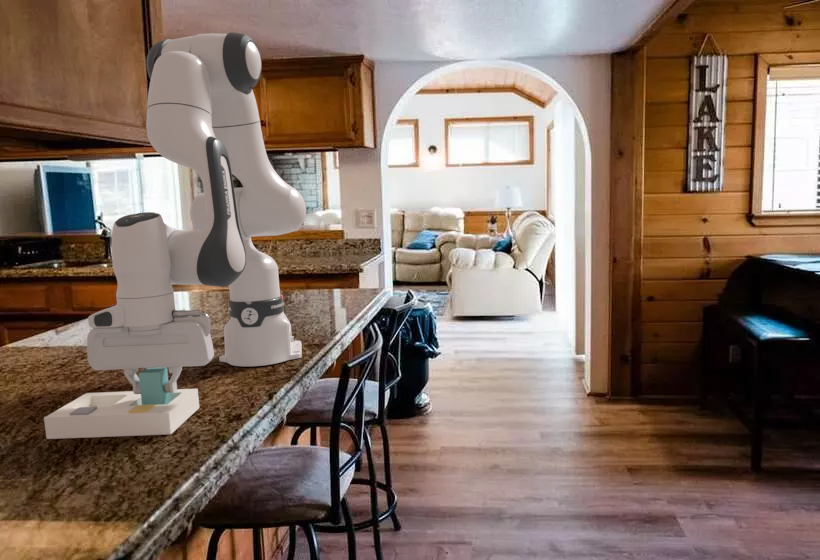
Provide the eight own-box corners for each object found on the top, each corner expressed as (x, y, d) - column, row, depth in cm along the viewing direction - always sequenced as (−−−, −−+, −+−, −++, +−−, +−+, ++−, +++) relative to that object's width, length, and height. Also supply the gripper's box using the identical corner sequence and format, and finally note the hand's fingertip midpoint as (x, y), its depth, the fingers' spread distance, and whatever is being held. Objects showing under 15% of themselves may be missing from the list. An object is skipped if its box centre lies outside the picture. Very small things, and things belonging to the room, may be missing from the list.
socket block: (88, 412, 118) (86, 391, 117) (199, 407, 117) (197, 386, 117) (46, 439, 105) (43, 415, 105) (170, 434, 104) (168, 411, 104)
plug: (151, 410, 114) (147, 367, 113) (171, 409, 114) (167, 367, 113) (143, 417, 110) (138, 373, 109) (163, 416, 110) (158, 372, 109)
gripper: (215, 305, 113) (222, 384, 114) (97, 311, 113) (106, 389, 115) (202, 312, 106) (210, 395, 108) (77, 318, 107) (87, 400, 109)
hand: (155, 392), depth 112 cm, fingers open, 4 cm apart
